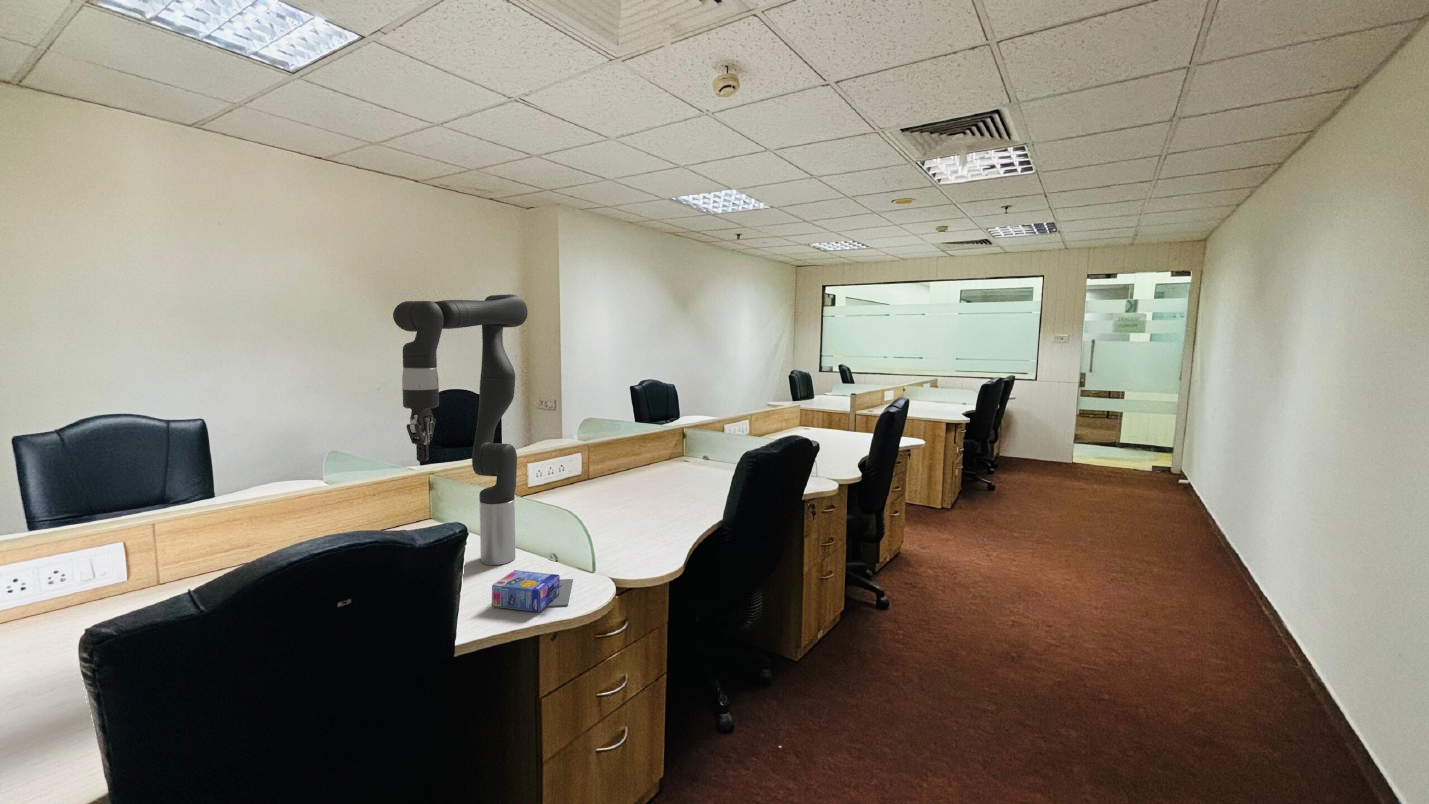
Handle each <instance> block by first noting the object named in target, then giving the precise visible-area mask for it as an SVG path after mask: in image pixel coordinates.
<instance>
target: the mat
mask: <svg viewBox="0 0 1429 804" xmlns="http://www.w3.org/2000/svg"><path fill="white" fill-rule="evenodd" d="M573 582H574V578H566V579H565V578H562V579H560V584H559V586H561V585H563V586H561V587H560V588H559V595H558V596H557V597H556V598H555V599H554V600H553V601H551V602H550V603H549V604H548V605H547V606H546V607H545V608H558V607H559V608H560V607H568V606H569V603H570V597H571V592H572V588H573V587H572V586H573Z"/></svg>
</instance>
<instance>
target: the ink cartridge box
mask: <svg viewBox="0 0 1429 804" xmlns="http://www.w3.org/2000/svg"><path fill="white" fill-rule="evenodd" d="M560 578H561V577H560V574H554V573H545V572H535V571H527V570H520V569H518V570H517V569H514V570H512V571H511V572H509V573H508V574H507V575H505V576H503V577H501V578H500V579H499V580H497V581H496V582H494V583H493V584H492V585H491V607H493V608H500V609H501V608H502V609H511V610H519V611H520V610H521V611H530V612H539V613H540V612H542V611H543V610H544V609H545V608H547V607H546V606H547V605H548V604H549V603H550V602H551V601H553V600H554V599H555V598H556V597H557V596H558V595H559V588H560V587H561V586H563V585H561V586H559V584H560Z"/></svg>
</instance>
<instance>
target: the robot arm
mask: <svg viewBox="0 0 1429 804" xmlns="http://www.w3.org/2000/svg"><path fill="white" fill-rule="evenodd" d="M528 312H529V311H528V306H527V303H526V301H525V300H524V299H523V298H522V297H521V296H520V295H516V294H510V293H509V294H493V295H489V296H486V297H485V299H484V300H480V299H479V300H477V299H475V300H472V299H471V300H470V299H448V300H447V299H446V300H445V299H443V300H438V301H431V300H406V301H401V302H400V303H399V304H398V305H397V306H395V308H394V310H393V313H392V318H393V321H394V324H395V325H396V326H397V327H398V328H399V329H401V330H403V331H405V332H406V331H407V332H411V333H412V332H416V334H415V338H414V340H413V341H409V342H406V343H405V344H404V345H403V346H402V375H401V376H402V377H401V382H402V383H401V386H402V389H401V390H402V391H401V392H402V406H403V408H405V409H410V410H411V413H410V416H409V423H407V424H406V431H407V433H408V435H409V438H410V441H411V444H413V445H414V446H416V450H415V451H416V461H417V462H426V461H428V460H429V458H430V456H429V455H430V453H429V445H430V443H431V441H432V440H433V436H434V431H435V425H436V421H437V420H436V419H437V418H434V415H433V412H432V409H434V408H438V407H439V406H440V392H439V391H440V389H439V385H440V384H439V373H438V368H437V367H438V363H437V362H438V361H437V354H438V353H437V352H438V351H437V349H438V347H439V343H440V340H441V339H440V338H441V335H442V331H443V330H453V329H462V328H469V327H476V326H477V327H478V326H481V336H482V337H481V338H482V339H481V340H482V347H481V348H482V350H481V370H480V378H479V394H478V395H479V396H478V397H479V398H478V399H479V401H478V410H477V411H478V412H477V413H478V414H477V423H476V430H475V436H474V441H473V446H472V454H471V464H472V465H471V467H472V470H473V472H474V473H475V474H476V475H477V476H483V477H496V481H495V484H494V485H493V486H488V487H486V488H484V489H482V490H481V491H479V499H478V500H479V532H480V533H479V534H480V541H479V543H480V563H481V564H484V565H487V566H498V565H504V564H507V563H511V562H513V561H514V560H516V508H515V507H516V505H515V501H516V500H515V494H516V488H517V469H518V453H517V450H516V448H515V447H514V445H512V444H511V443H510V444H509V443H498V442H495V443H494V439H495V438H494V437H495V432H496V428H497V426H498V424H499V422H500V420H501V419H502V417H503V415H504V414H505V413H506V412H507V410H508V408H509V407H510V405H511V404H512V402H513V400H514V397H515V392H516V391H515V388H516V373H515V369H514V367H513V365H512V362H511V361H510V359H509V357H508V354H507V353H506V350H505V348H504V343H503V342H504V340H503V334H504V333H503V331H504V328H517V327H519V326H521V325H523V324H524V323H525V322H526V320H527V318H528Z"/></svg>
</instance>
